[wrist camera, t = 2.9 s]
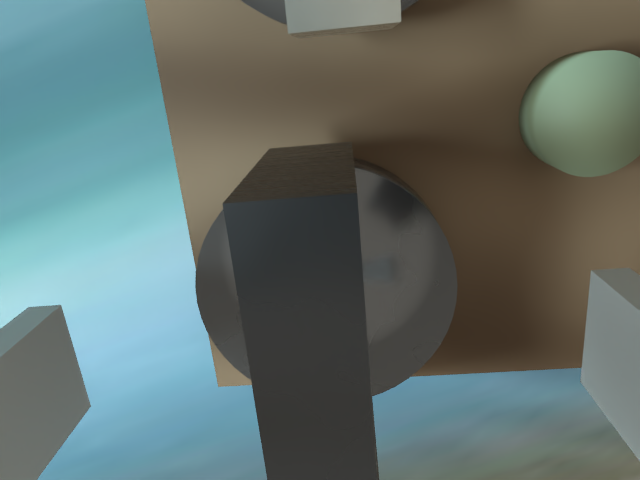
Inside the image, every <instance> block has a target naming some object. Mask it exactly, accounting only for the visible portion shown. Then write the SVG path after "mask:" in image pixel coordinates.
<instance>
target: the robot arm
mask: <svg viewBox="0 0 640 480" xmlns="http://www.w3.org/2000/svg"><path fill="white" fill-rule="evenodd" d="M580 382H581V383H582V384H583V386H584V387H585V388H586V390H587V391H588V392H589V394H590V395H591V397H592V398H593V399H594V401H595V402H596V403H597V405H598V406H599V407H600V409H601V410H602V411H603V413H604V414H605V415H606V417H607V418H608V419H609V421H610V422H611V423H612V425H613V426H614V427H615V429H616V430H617V431H618V433H619V434H620V435H621V437H622V438H623V440H624V441H625V442H626V444H627V445H628V446H629V448H630V449H631V450H632V452H633V453H634V454H635V456H636V457H637V458H638V460H639V461H640V275H638V274H637V273H636V272H634V271H633V270H632V269H630V268H617V269H602V270H591V275H590V286H589V297H588V307H587V318H586V328H585V339H584V349H583V360H582V370H581V381H580ZM90 407H91V405H90V402H89V399H88V395H87V392H86V388H85V385H84V382H83V378H82V375H81V371H80V368H79V365H78V361H77V358H76V354H75V351H74V348H73V344H72V341H71V337H70V334H69V331H68V327H67V324H66V321H65V317H64V314H63V310H62V307H61V305H55V306H39V307H28V308H27V309H26V310H24V311H23V312H22V313H21V314H19V315H18V316H17V317H15V318H14V319H13V320H12V321H10V322H9V323H8V324H6V325H5V326H4V327H3V328H1V329H0V480H37V479H38V477H39V476H40V475H41V473H42V472H43V470H44V469H45V468H46V466H47V465H48V464H49V462H50V461H51V460H52V458H53V457H54V455H55V454H56V453H57V451H58V450H59V449H60V447H61V446H62V445H63V443H64V442H65V441H66V439H67V438H68V436H69V435H70V434H71V432H72V431H73V430H74V428H75V427H76V426H77V424H78V423H79V422H80V420H81V419H82V417H83V416H84V415H85V413H86V412H87V411H88V409H89V408H90Z"/></svg>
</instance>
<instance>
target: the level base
mask: <svg viewBox="0 0 640 480" xmlns="http://www.w3.org/2000/svg"><path fill="white" fill-rule="evenodd" d="M145 3H146V9H147V14H148V19H149V24H150V30H151V35H152V40H153V45H154V51H155V56H156V61H157V66H158V72H159V77H160V82H161V87H162V93H163V98H164V103H165V108H166V114H167V119H168V124H169V129H170V135H171V140H172V145H173V151H174V156H175V161H176V166H177V172H178V177H179V182H180V187H181V193H182V198H183V203H184V208H185V214H186V219H187V224H188V229H189V235H190V240H191V245H192V250H193V256H194V261H195V266H196V268H197V262H198V256H199V253H200V250H201V247H202V244H203V241H204V239H205V237H206V235H207V233H208V231H209V229H210V227H211V225H212V224H213V222H214V221H215V220H216V218H217V217H218V215H219V214H220V212H221V211H222V210H223V202H224V201H225V200H226V199H227V198H228V196H229V195H230V194H231V193H232V192H233V191H234V189H235V188H236V187H237V186H238V185H239V184H240V182H241V181H242V180H243V179H244V178H245V177H246V175H247V174H248V173H249V172H250V171H251V169H252V168H253V167H254V166H255V165H256V164H257V162H258V161H259V160H260V159H261V158H262V157H263V155H264V154H265V153H266V152H267V151H268V150H269V149H270V148H282V147H293V146H305V145H316V144H328V143H339V142H351V141H352V149H353V157H354V158H358V159H362V160H366V161H368V162H371V163H373V164H376V165H378V166H381V167H383V168H384V169H386V170H388V171H390V172H392V173H393V174H395V175H397V176H398V177H399V178H401V179H402V180H403V181H405V182H406V183H407V184H408V185H409V186H410V187H411V188H412V189H414V190H415V191H416V192H417V193H418V194H419V195H420V197H421V198H422V199H423V201H424V202H425V203H426V205H427V206H428V207H429V209H430V210H431V212H432V214H433V216H434V217H435V219H436V221H437V222H438V224H439V226H440V228H441V229H442V231H443V233H444V235H445V236H446V238H447V241H448V243H449V246H450V248H451V251H452V254H453V258H454V262H455V266H456V272H457V300H456V306H455V310H454V315H453V318H452V321H451V324H450V326H449V329H448V332H447V333H446V335H445V337H444V339H443V341H442V343H441V344H440V346H439V347H438V349H437V350H436V351H435V353H434V354H433V355H432V357H431V358H430V359H429V360H428V361H427V362H426V363H425V364H424V365H423V366H422V367H421V368H420V369H419V370H418V371H417V372H416V373H414V374H413V375H412V376H431V375H450V374H469V373H488V372H507V371H526V370H545V369H564V368H582V360H583V349H584V339H585V328H586V318H587V307H588V297H589V286H590V275H591V270H602V269H617V268H630V269H632V270H633V271H634V272H636V273H637V274H638V275H640V0H418V1H417V2H416V3H415V4H414V5H412V6H411V7H409V8H408V9H406V10H404V11H403V12H401V22H400V23H399V24H398V25H396V26H395V27H393V28H392V29H387V30H377V31H367V32H357V33H348V34H338V35H328V36H318V37H309V38H299V39H297V38H296V37H294V36H292V35H290V34H288V28H287V25H284V24H282V23H279V22H277V21H275V20H272V19H271V18H269V17H267V16H265V15H264V14H262V13H260V12H258V11H257V10H255V9H253V8H252V7H250V6H248V5H247V4H245V3H244V2H242V1H241V0H145ZM208 335H209V334H208ZM209 340H210V345H211V350H212V356H213V361H214V366H215V371H216V377H217V382H218V387H221V386H240V385H252V382H251V380H250V379H248V378H247V377H246V376H244V375H243V374H242V373H241V372H239V371H238V370H237V369H236V368H234V367H233V365H232V364H231V363H230V362H229V361H228V360H227V359H226V358H225V357H224V356H223V355H222V354H221V352H220V351H219V350H218V348H217V347H216V346H215V344H214V343H213V341H212V339H211V337H210V336H209ZM412 376H411V377H412Z"/></svg>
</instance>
